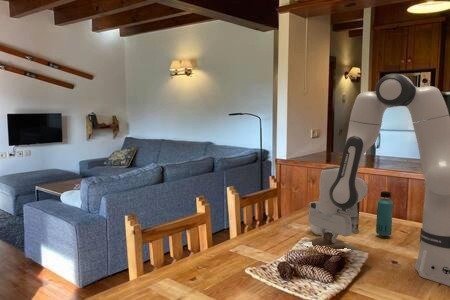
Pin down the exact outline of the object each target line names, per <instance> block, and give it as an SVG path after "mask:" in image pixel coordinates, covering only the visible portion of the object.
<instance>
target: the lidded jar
mask: <svg viewBox="0 0 450 300" xmlns="http://www.w3.org/2000/svg"><path fill="white" fill-rule="evenodd" d="M309 227H310V230H311V232H312V233H313V234H314V235H317V236H321V237H322V234H321V231H320V227H318V226H315V225H313V224H310V223H309ZM325 231H326V232H331V231H328V230H325ZM331 233H332V232H331Z"/></svg>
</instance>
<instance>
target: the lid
mask: <svg viewBox="0 0 450 300" xmlns="http://www.w3.org/2000/svg"><path fill="white" fill-rule="evenodd" d="M331 237H333V234H332V232H326V233H324V235H323V239H322V237H316V238H314V239H312V240H313V241H312V240H311V241H312V245H313V246H316V245H319V246H325V247H330V248H333V249H344V248H346V244H347V243H345V241H342V240H341V239H337V238H336V242H335V243H332V242H330V238H331Z"/></svg>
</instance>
